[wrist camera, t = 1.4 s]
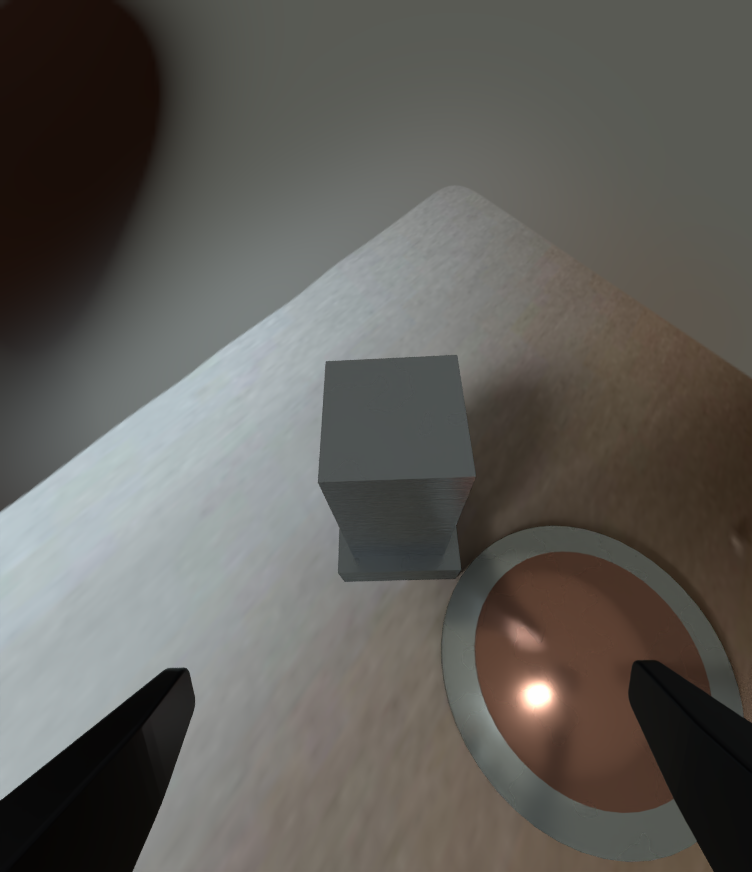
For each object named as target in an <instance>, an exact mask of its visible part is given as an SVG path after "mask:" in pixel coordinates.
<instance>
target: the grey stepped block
mask: <svg viewBox="0 0 752 872" xmlns="http://www.w3.org/2000/svg"><path fill="white" fill-rule="evenodd" d="M475 478H476V473H475V467H474V460H473V454H472V447H471V441H470V434H469V428H468V422H467V415H466V409H465V402H464V396H463V389H462V383H461V377H460V370H459V364H458V357H457V355H446V356H426V357H406V358H385V359H365V360H345V361H326V365H325V381H324V396H323V412H322V427H321V443H320V458H319V474H318V484H319V486H320V488H321V490H322V492H323V494H324V496H325V498H326V500H327V502H328V505H329V507H330V509H331V511H332V513H333V515H334V517H335V519H336V521H337V523H338V526H339V528H340V529H339V560H338V574H339V575H340V576H341V578H342V579H343V580H344V582H353V581H392V580H432V579H455V578H456V577H457V575H458V574H459V572H460V571H461V564H460V555H459V547H458V538H457V530H456V524H457V522H458V519H459V517H460V515H461V512H462V510H463V507H464V505H465V502H466V500H467V497H468V495H469V493H470V490H471V488H472V485H473V483H474V480H475Z"/></svg>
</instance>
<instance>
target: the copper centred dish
mask: <svg viewBox="0 0 752 872" xmlns="http://www.w3.org/2000/svg"><path fill="white" fill-rule="evenodd" d="M636 660H657V661H659V662H661V663H662V664H664V665H665V666H667V667H668V668H670V669H671V670H673V671H674V672H676V673H677V674H679V675H680V676H682V677H683V678H685V679H686V680H688V681H689V682H691V683H692V684H694V685H695V686H697V687H698V688H700V689H701V690H703V691H704V692H706V693H707V694H709V695H710V696H712V697H713V698H715V699H716V700H718V701H719V702H721V703H722V704H724V705H725V706H727V707H728V708H730V709H731V710H733V711H734V712H736V713H737V714H739V715H740V716H742V717H743V708H742V704H741V699H740V694H739V689H738V685H737V682H736V679H735V676H734V673H733V670H732V667H731V664H730V662H729V660H728V657H727V655H726V653H725V651H724V648H723V646H722V644H721V642H720V640H719V639H718V637H717V635H716V633H715V631H714V630H713V628H712V626H711V624H710V623H709V622H708V620H707V619H706V617H705V616H704V614H703V613H702V611H701V610H700V609H699V607H698V606H697V605H696V603H695V602H694V601H693V600H692V599H691V597H690V596H689V595H688V594H687V593H686V591H685V590H684V589H683V588H682V587H681V586H680V585H679V584H678V583H677V582H676V581H675V580H674V579H673V578H672V577H671V576H670V575H669V574H667V573H666V572H665V571H664V570H663V569H661V568H660V567H659V566H658V565H656V564H655V563H654V562H653V561H651V560H650V559H648V558H647V557H645V556H644V555H642V554H641V553H639V552H638V551H636V550H635V549H633V548H631V547H629V546H627V545H625V544H623V543H622V542H620V541H617V540H615V539H613V538H610V537H608V536H605V535H603V534H599V533H596V532H593V531H589V530H586V529H580V528H574V527H566V526H544V527H535V528H530V529H525V530H522V531H519V532H516V533H513V534H510V535H508V536H506V537H504V538H502V539H500V540H498V541H497V542H495V543H494V544H492V545H491V546H489V547H488V548H487V549H485V550H484V551H483V552H482V553H481V554H480V555H479V556H478V557H477V558H476V559H475V560H474V561H473V562H472V563H471V564H470V566H469V567H468V568H467V570H466V571H465V572H464V574H463V575H462V576H461V578H460V580H459V582H458V583H457V585H456V587H455V589H454V591H453V593H452V596H451V598H450V601H449V603H448V606H447V610H446V614H445V618H444V622H443V630H442V638H441V664H442V672H443V681H444V686H445V690H446V694H447V699H448V703H449V706H450V709H451V712H452V714H453V717H454V720H455V723H456V726H457V728H458V730H459V732H460V734H461V736H462V738H463V740H464V743H465V745H466V747H467V748H468V750H469V751H470V753H471V755H472V756H473V758H474V760H475V761H476V763H477V765H478V766H479V768H480V769H481V771H482V772H483V773H484V775H485V776H486V777H487V778H488V780H489V781H490V782H491V784H492V785H493V786H494V788H495V789H496V790H497V791H498V793H499V794H500V795H501V796H502V797H503V798H504V799H505V800H506V801H507V802H508V803H509V804H510V805H511V806H512V807H513V808H514V809H515V810H516V811H517V812H518V813H519V814H521V815H522V816H523V817H524V818H525V819H527V820H528V821H529V822H530V823H531V824H533V825H534V826H535V827H536V828H538V829H539V830H541V831H543V832H544V833H546V834H547V835H549V836H550V837H552V838H554V839H555V840H557V841H558V842H561V843H563V844H565V845H567V846H569V847H571V848H574V849H576V850H578V851H580V852H583V853H586V854H590V855H593V856H597V857H600V858H603V859H610V860H618V861H626V862H633V861H651V860H655V859H659V858H663V857H667V856H671V855H673V854H675V853H678V852H680V851H682V850H684V849H686V848H688V847H690V846H692V845H693V844H694V843H696V842H697V841H696V839H695V837H694V835H693V834H692V832H691V830H690V828H689V826H688V825H687V823H686V821H685V819H684V817H683V815H682V814H681V812H680V810H679V808H678V806H677V804H676V802H675V800H674V798H673V796H672V794H671V792H670V790H669V788H668V786H667V784H666V782H665V780H664V777H663V775H662V773H661V771H660V769H659V767H658V764H657V762H656V760H655V758H654V756H653V753H652V751H651V749H650V747H649V745H648V743H647V740H646V738H645V736H644V734H643V732H642V729H641V727H640V725H639V723H638V721H637V719H636V716H635V714H634V712H633V710H632V708H631V705H630V702H629V698H628V688H629V681H630V675H631V668H632V664H633V662H634V661H636ZM743 718H744V717H743Z"/></svg>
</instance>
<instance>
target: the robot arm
mask: <svg viewBox="0 0 752 872" xmlns="http://www.w3.org/2000/svg"><path fill="white" fill-rule="evenodd" d="M628 698H629V702H630V705H631V708H632V710H633V712H634V714H635V716H636V719H637V721H638V723H639V725H640V727H641V729H642V732H643V734H644V736H645V738H646V740H647V743H648V745H649V747H650V749H651V751H652V753H653V756H654V758H655V760H656V762H657V764H658V767H659V769H660V771H661V773H662V775H663V777H664V780H665V782H666V784H667V786H668V788H669V790H670V792H671V794H672V796H673V798H674V800H675V802H676V804H677V806H678V808H679V810H680V812H681V814H682V815H683V817H684V819H685V821H686V823H687V825H688V826H689V828H690V830H691V832H692V834H693V835H694V837H695V839H696V841H697V843H698V844H699V846H700V848H701V850H702V852H703V853H704V855H705V857H706V859H707V860H708V862H709V864H710V866H711V868H712V869H713V871H714V872H752V723H751V722H749V721H748V720H746V719H745V718H743V717H742V716H740V715H739V714H737V713H736V712H734V711H733V710H731V709H730V708H728V707H727V706H725V705H724V704H722V703H721V702H719V701H718V700H716V699H715V698H713V697H712V696H710V695H709V694H707V693H706V692H704V691H703V690H701V689H700V688H698V687H697V686H695V685H694V684H692V683H691V682H689V681H688V680H686V679H685V678H683V677H682V676H680V675H679V674H677V673H676V672H674V671H673V670H671V669H670V668H668V667H667V666H665V665H664V664H662V663H661V662H659V661H657V660H636V661H634V662H633V664H632V668H631V675H630V681H629V688H628ZM194 707H195V695H194V691H193V686H192V682H191V677H190V673H189V671H188V669H187V668H168V669H165V670H164V671H162V672H161V673H160V674H159V675H157V676H156V677H155V678H153V679H152V680H151V681H150V682H148V683H147V684H146V685H145V686H143V687H142V688H141V689H140V690H138V691H137V692H136V693H135V694H133V695H132V696H131V697H130V698H128V699H127V700H126V701H125V702H123V703H122V704H121V705H120V706H118V707H117V708H116V709H115V710H113V711H112V712H111V713H110V714H108V715H107V716H106V717H105V718H103V719H102V720H101V721H100V722H98V723H97V724H96V725H95V726H93V727H92V728H91V729H90V730H88V731H87V732H86V733H84V734H83V735H82V736H81V737H79V738H78V739H77V740H76V741H74V742H73V743H72V744H71V745H69V746H68V747H67V748H66V749H64V750H63V751H62V752H61V753H59V754H58V755H57V756H56V757H54V758H53V759H52V760H51V761H49V762H48V763H47V764H46V765H44V766H43V767H42V768H41V769H39V770H38V771H37V772H36V773H34V774H33V775H32V776H31V777H29V778H28V779H27V780H26V781H24V782H23V783H22V784H21V785H19V786H18V787H17V788H15V789H14V790H13V791H12V792H10V793H9V794H8V795H7V796H5V797H4V798H3V799H2V800H0V872H132V871H133V869H134V867H135V865H136V862H137V860H138V858H139V855H140V853H141V851H142V848H143V846H144V844H145V842H146V839H147V837H148V835H149V832H150V830H151V828H152V825H153V823H154V821H155V818H156V816H157V814H158V811H159V809H160V806H161V804H162V801H163V799H164V796H165V793H166V790H167V788H168V785H169V782H170V779H171V776H172V773H173V770H174V767H175V764H176V761H177V758H178V756H179V753H180V750H181V747H182V744H183V741H184V738H185V735H186V732H187V729H188V726H189V723H190V720H191V717H192V715H193V711H194Z"/></svg>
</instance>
